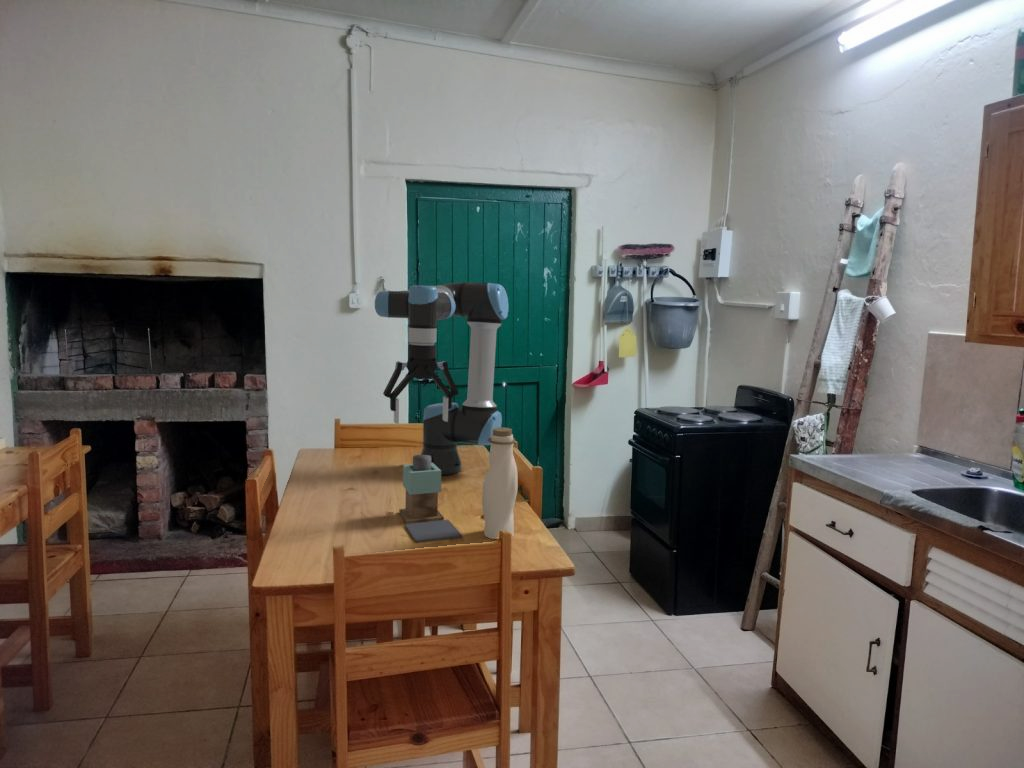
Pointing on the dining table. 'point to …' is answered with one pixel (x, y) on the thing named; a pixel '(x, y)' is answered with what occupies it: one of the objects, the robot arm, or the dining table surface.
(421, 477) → the teal square planter
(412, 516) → the stand
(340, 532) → the dining table surface
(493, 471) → the water bottle
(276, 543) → the dining table surface
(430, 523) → the mat
